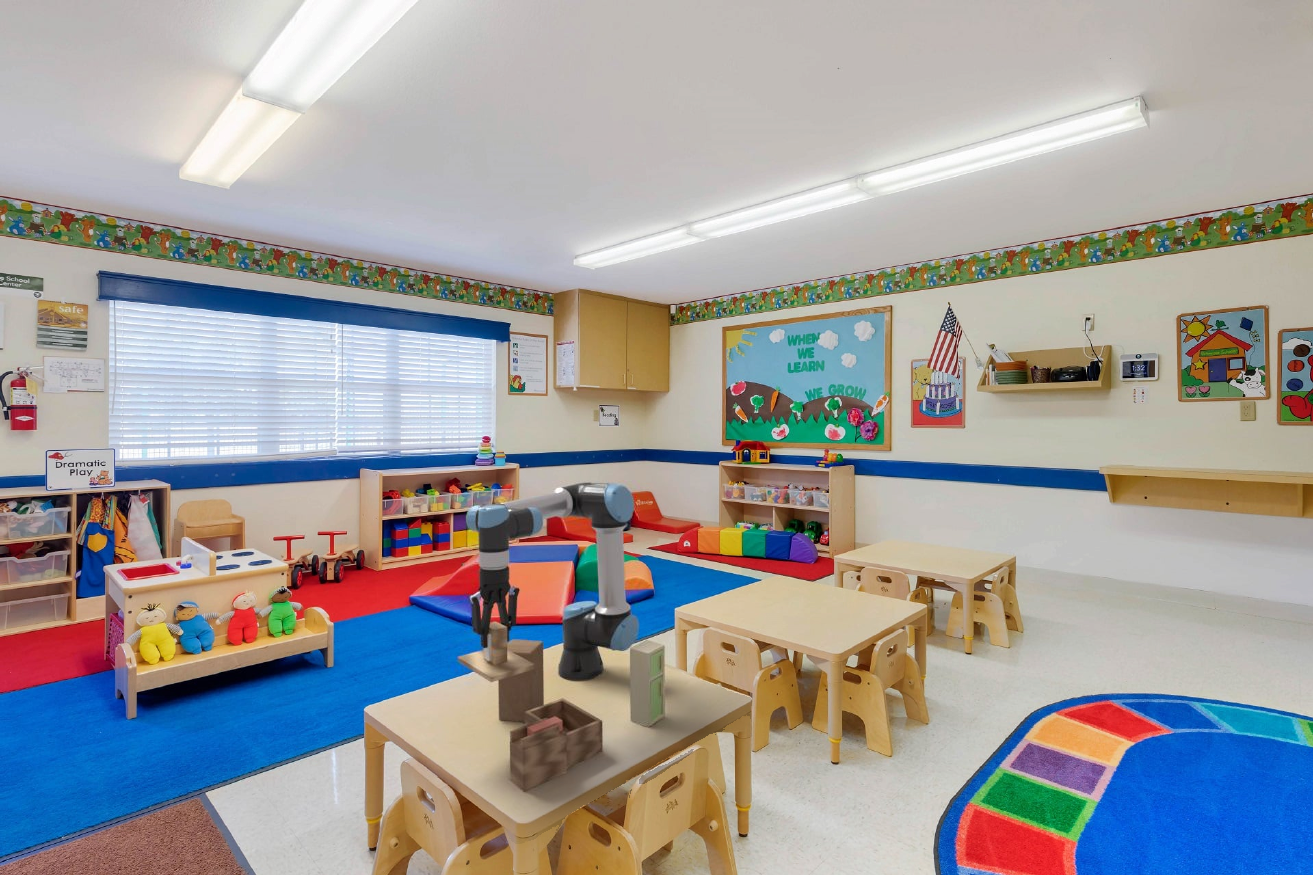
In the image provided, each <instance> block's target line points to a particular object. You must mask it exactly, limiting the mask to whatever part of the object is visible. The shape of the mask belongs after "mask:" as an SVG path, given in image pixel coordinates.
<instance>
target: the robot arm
mask: <svg viewBox="0 0 1313 875" xmlns="http://www.w3.org/2000/svg"><path fill="white" fill-rule="evenodd" d="M634 501H635V500H634V496H633V494H632V492H631V490H629V489H628V487H626V486H624V485H622V484H617V483H609V482H607V483H605V482H580V483H575V484H571V485H567V486H562V487H557V488H555V489H554V490H552V492H549V493H544V494H539V495H534V496H529V497H525V498H520V499H515V500H510V501H505V502H501V503H495V504H491V505H484V504H478V505H473V506H472V507H470V508H469V509H468V511H467V512H466V516H465V520H466V521H465V522H466V525H467V528H468V529H469V530H471V531H473V532H477V533H478V566H479V567H480V568H479V569H478V581H479V586H478V590H477V592H476V593H474V594H473V595H472V594H469V595H468V601H469V602H470V607H471V620H472V631H473V633H475V634H476V635H478V636H480V646H481V648H482V649H483V650H484V659H486V660H488V661H491V660H492V645H491V635H490V634H488V633H489V627H490V623H491V619H492V614H493V613H492V611H493V609H494V605H495V604H496V605H497V611H498V615H499V621H500V622H499V623H500V624H502V625H504V626H506V627H507V643H508V642H510V631H511V630H512V629H513V628H512V627H515V626H516V625H517V613H518V612H517V610H518V596H519V594H520V588H519V587H516V586H514V585H513V586H511V583H510V566H509V565H510V541H511V540H516V539H517V540H518V539H521V538H525V537H531V536H534V535H536V534H538V533H540V532H541V530H542V529H543V527H544V520H547V519H551V518H554V517H557V518H560V519H561V518H567V517H575V518H584V519H590V526H591V528H592V529H593V530H594V531H595V533H596V552H597V553H596V555H597V557H596V558H597V577H598V598H599V600H598V601H599V602H598V603H597V602H596V601H593V600H585V601H578V602H574V603H571V604H568V605H566V606H565V607H564V608H563V612H562V614H563V615H562V642H563V644H562V647H563V649H562V653H561V657H560V659H559V660H560V661H559V663H558V667H557V669H558V675H559V676H560V677H561V678H563V679H565V680H571V681H586V680H591V679H595V678H597V677H599V676H601V675H602V674H603V672H604V663H603V660H602V656H601V653H600V650H599V648H603V649H609V650H611V651H617V652H618V651H619V652H625V651H627V650H630V648H631V647H633V644H634V643H635V640H636V639H637V636H638V633H639V629H640V628H639V627H640V623H639V619H638V618H637V616H636V615H634V614H632V611H631V610H632V609H631V605H630V604H629V603H628V602H627V598H626V578H625V577H626V576H625V574H626V573H625V572H626V571H625V551H624V549H625V548H624V547H625V546H624V529H625V528H626V527H628V521H630V520H631V519H632V516H633V513H634V511H635V502H634ZM507 595H508V598H506V596H507ZM481 599H482V613H481V605H480V602H481ZM507 599H508V600H507ZM507 602H508V604H507Z"/></svg>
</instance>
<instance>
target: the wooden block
mask: <svg viewBox="0 0 1313 875" xmlns="http://www.w3.org/2000/svg"><path fill="white" fill-rule="evenodd" d="M507 650H509V651H511V652H513V653H514V654H516V655H518V656H520V657H522V658H524V659H526V660H528V661H530V662H531V663H533V664H534V665H535V669H532V670H529V671H526V672H523V673H520V674H516V675H513V676H510V677H507V678H504V679H500V680H497V681H498V682H497V683H498V719H499V720H500V721H510V722H521V723H522V722H523V723H525V712H526V711H529V710H531V709H534V708H537V707H540V706H543V705H545V700H544V699H545V697H544V695H545V693H544V692H545V689H544V684H545V683H544V682H545V681H544V675H545V674H544V642H543V641H541V640H531V639H529V640H528V639H515V638H514V639H511V640H509V642H507Z"/></svg>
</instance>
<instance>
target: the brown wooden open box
mask: <svg viewBox="0 0 1313 875" xmlns="http://www.w3.org/2000/svg"><path fill="white" fill-rule="evenodd" d="M555 716H556V717H557V718H559V719H561V720H562V731H561V732H559V725H555V726H552V727H550V728H547V729H545V730H542V731H540V732H537V733H534V734H532V735H529V736H527V727H529V726H531V725H534V724H537V723H539V722H542V721H545V720H547V719H550V718H552V717H555ZM603 739H604V738H603V720H602V719H600V718H598V717H596V716H595V715H593V714H592V713H590V712H588V711H586V710H584V709H582V708H581V707H580V706H577V705H575V704H574V703H572V702H570V701H569V700H567V699H565V698H563V697H562V698H560V699H557V700H554V701H551V702H548V703H546V704H545V703H544V705H543V706H540V707H537V708H534V709H531V710H529V711H526V712H525V722H524V725H523V726H521V727H519V728H516V729H512V730H511V731H509V772H510V773H509V775H510V776H509V781H510V782H511V783H512V784H513V785H515V787H517V788H519V789H520V790H521V791H522V792H526V791H528V790H530V789H532V788H534V787H537V786H539V785H541V784H543V783H545V782H547V781H550V780H552V779H555V778H556V777H558V776H561V775H564V774H565V773H567V772H568V768H570V767H572V766H574V765H576V764H578V763H580V762H582V761H585V760H587V759H589V758H592V757H593V756H597V755H598V754H600V753H603V752H604V751H603V748H604V745H603V743H604V742H603Z"/></svg>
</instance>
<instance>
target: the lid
mask: <svg viewBox="0 0 1313 875" xmlns="http://www.w3.org/2000/svg"><path fill="white" fill-rule="evenodd" d="M488 634H490V635H491V645H492V660H491V661H488V660H486V659H484V649H482V650H478V651H474V652H470V653H467V654H463V655H459V656H457V662H458V663H460V664H461V665H463V666H464V667H465V668H468V669H469V670H471V671H473V672H474V673H475V674H478V676H480V677H482V678H483V679H485V680H487V681H488V682H490V683H493V682H497V681H498V680H500V679H504V678H507V677H510V676H513V675H516V674H520V673H523V672H526V671H529V670H532V669H535V665H534V664H533V663H531V662H530V661H528V660H526V659H524V658H522V657H520V656H518V655H516V654H514V653H513V652H511V651H509V650H507V643H508V642H507V627H506V626H504V625H502V624H501V622H497V621H493V622H491V621H490V627H489V633H488Z"/></svg>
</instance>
